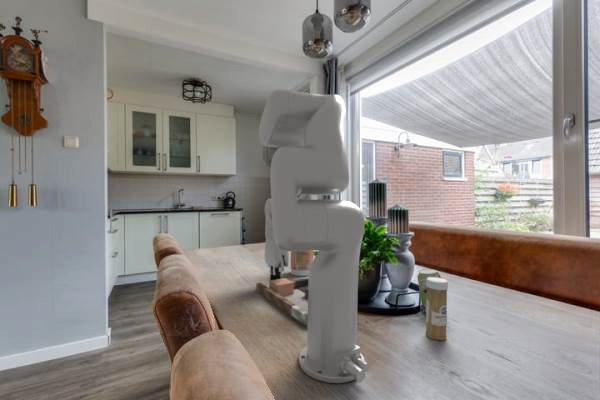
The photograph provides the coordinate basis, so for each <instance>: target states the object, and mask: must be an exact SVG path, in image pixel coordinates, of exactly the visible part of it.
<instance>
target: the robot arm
mask: <svg viewBox="0 0 600 400" xmlns="http://www.w3.org/2000/svg"><path fill="white" fill-rule="evenodd" d="M266 100H267V101H266V103H265V106H264V109H263V112H262V115H261V118H260V123H259V128H258V138H259V139H258V140H259V142H260V145H262V146H263V147H268V148H276V149H277V148H278V149H277V150H275V152H274V154H273V156H272V158H271V163H270V172H269V173H270V174H269V176H270V179H269V180H270V198H268V199H266V202H265V205H264V216H265V224H264V225H265V228H264V229H265V230H264V231H265V233H264V235H265V236H264V237H265V245H264V262H265V263H266V265H267V266H268V268H269V281H270V280H276V279H281V275H282V272H285V267H286V268H287V267H289V264H290V262H289V261H290V260H289V259H290V257H289V252H291V251H309V250H313V251H318V252H317V254H316V255H315V257H314V258H313V262H312V264H311V267H310V270H309V275H308V278H309V279H308V298H307V312H308V327H307V338H306V339H307V345H306V346H305V347H303V348H302V349H301V350H300V353H299V354H298V356H299V357H298V363H299V364H298V365H299V366H300V368H301V370H302V371H303V372H304V373H305V374H306V375H308V377H311V378H313V379H315V380H316V381H317V380H318V381H320V382H325V383H332V384H342V383H343V384H344V383H348V382H351V381H354V380H355V381H356V382H358V383H362V382H363V381H364V379H365V377H366V372H368V371H369V369H370V368H371V367H370V364H369V363H368V362H367V361H365V357H364V355H363V354H362V352H361V348H362V347H360V346H359V345H357V344H358V343H357V342H358V301H359V299H358V295H359V293H358V291H359V290H358V289H359V266H360V265H359V264H360V254H361V249H362V248H361V247H362V242H363V238H364V234H365V226H366V223H365V217H364V213H363V212H362V209H361V208H360V207H359V206H358V205H357V204H355V203H353V202H351V201H347V200H343V199H328V198H327V199H326V198H325V199H324V198H322V199H320V198H318V199H313V198H312V197H313V196H333V195H335V196H336V195H339V194H342V193H343V192H344V191H345V190H347V188H348V186H349V181H350V173H349V171H350V170H349V163H348V155H347V149H346V142H345V135H344V125H345V124H344V123H345V119H346V105H345V102H344V100H343V98H342V97H341V96H340V95H338V94H321V93H320V94H319V93H314V92H313V93H312V92H302V91H296V90H288V89H275V90H273V91H271V92H270V94H269V96H268V97H267V99H266ZM298 196H299V197H298Z"/></svg>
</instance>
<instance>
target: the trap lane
mask: <svg viewBox="0 0 600 400" xmlns="http://www.w3.org/2000/svg"><path fill="white" fill-rule="evenodd" d="M286 279H288V280H290V281H292V282H294V290H295V289H298V290H300V291H301V292H303V293H304V297H305V298H307V299H308V279H309V277H307V278H300V279H293V278H291V277H288V278H286ZM255 286H256V287H255V291H256V292H258V293H259V294H260V295H262V296H263V297H265V298H266V299H268V300H269V301H270V302H272V303H273V304H275V305H276V306H277V307H279V308H280V309H282V310H283V311H284V312H286V313H287V314H289V315H290V316H291V317H293V318H294V319H296V320H297V321H298V322H300V323H301V324H303V326H306V327H307V328H308V311H306V310H305V309H304V308H301V307H300V306H298V305H297V304H295V303H294V302H292V301H291V300H288V299H287V298H285V296H283V297H282V296H281V295H279V294H278V293H276V292H275V291H273V290H271V289H270V288H269V286H266V285H265V284H263V283H262V282H256V284H255Z"/></svg>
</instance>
